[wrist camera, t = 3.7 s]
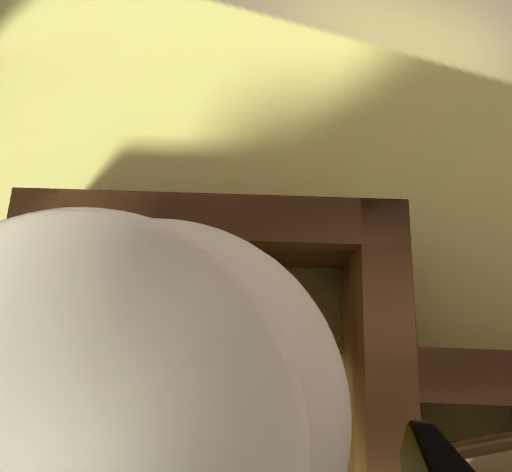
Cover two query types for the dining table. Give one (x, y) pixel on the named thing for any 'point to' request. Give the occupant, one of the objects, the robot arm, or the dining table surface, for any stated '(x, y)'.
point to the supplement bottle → (160, 351)
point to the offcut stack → (488, 452)
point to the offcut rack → (354, 298)
